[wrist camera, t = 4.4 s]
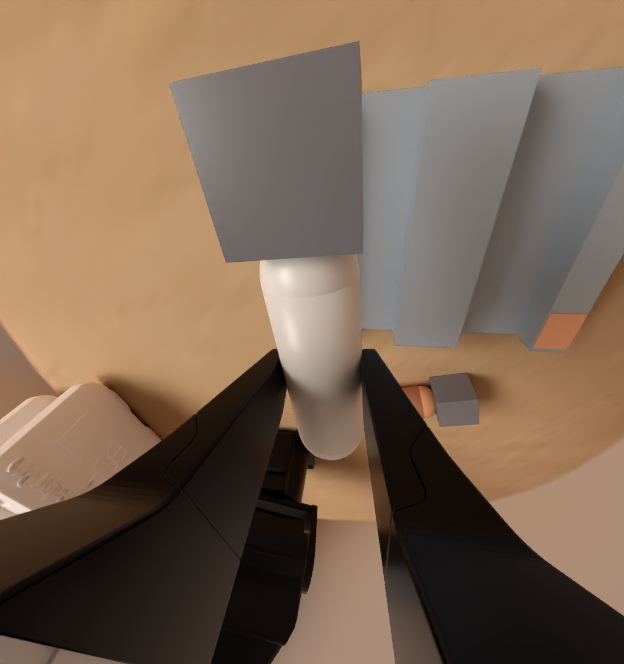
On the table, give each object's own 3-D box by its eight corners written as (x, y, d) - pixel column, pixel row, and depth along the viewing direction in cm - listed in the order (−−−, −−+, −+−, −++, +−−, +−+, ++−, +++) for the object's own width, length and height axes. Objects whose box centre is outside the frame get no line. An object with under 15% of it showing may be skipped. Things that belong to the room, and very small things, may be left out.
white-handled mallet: (366, 418, 12) (367, 482, 10) (306, 416, 13) (294, 475, 11) (361, 75, 6) (359, 41, 4) (238, 100, 6) (168, 83, 4)
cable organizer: (37, 380, 32) (-100, 481, 22) (103, 369, 29) (-23, 480, 19) (121, 454, 39) (45, 552, 30) (180, 451, 36) (116, 560, 27)
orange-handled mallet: (337, 409, 27) (335, 434, 24) (329, 389, 25) (326, 413, 23) (467, 396, 23) (478, 424, 21) (466, 372, 22) (478, 399, 20)
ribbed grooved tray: (540, 326, 19) (565, 353, 16) (310, 320, 21) (303, 342, 19) (670, 65, 11) (751, 46, 9) (293, 102, 14) (279, 95, 11)
